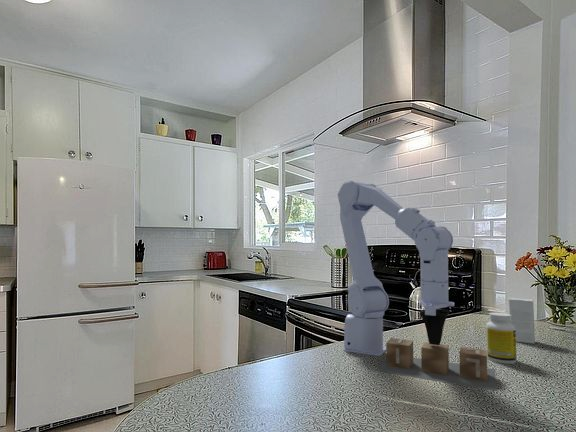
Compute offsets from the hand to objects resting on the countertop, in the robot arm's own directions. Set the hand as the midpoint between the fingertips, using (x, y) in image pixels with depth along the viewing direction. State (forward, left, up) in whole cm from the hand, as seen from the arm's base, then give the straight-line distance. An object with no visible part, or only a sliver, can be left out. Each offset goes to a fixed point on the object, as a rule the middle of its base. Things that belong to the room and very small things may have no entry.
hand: (434, 343), depth 83 cm
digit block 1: (-7, 0, -6) cm, 9 cm away
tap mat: (0, 0, -6) cm, 6 cm away
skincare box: (+19, +41, -6) cm, 46 cm away
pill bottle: (+13, +16, -6) cm, 22 cm away
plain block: (0, 0, -6) cm, 6 cm away
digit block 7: (+8, 0, -6) cm, 9 cm away
